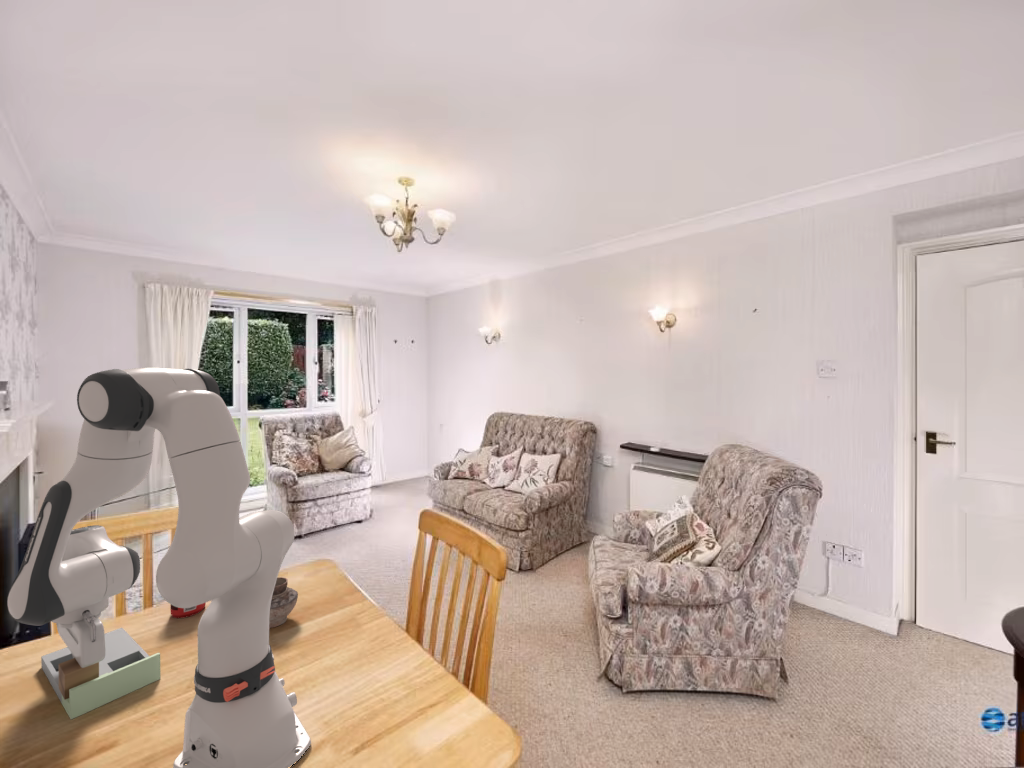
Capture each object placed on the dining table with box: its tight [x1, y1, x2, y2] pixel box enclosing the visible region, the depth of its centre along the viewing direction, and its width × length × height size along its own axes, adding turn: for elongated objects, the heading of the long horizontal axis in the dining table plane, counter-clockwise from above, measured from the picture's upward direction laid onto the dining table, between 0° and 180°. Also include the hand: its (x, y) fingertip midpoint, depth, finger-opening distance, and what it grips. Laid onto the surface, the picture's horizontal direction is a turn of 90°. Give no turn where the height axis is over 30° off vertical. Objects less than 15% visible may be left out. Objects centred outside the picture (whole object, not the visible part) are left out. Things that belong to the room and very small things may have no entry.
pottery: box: [210, 576, 299, 629], centre depth 120 cm, size 11×25×12 cm, turn 74°
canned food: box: [170, 602, 207, 619], centre depth 124 cm, size 8×8×11 cm
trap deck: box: [40, 627, 161, 720], centre depth 98 cm, size 26×14×6 cm, turn 55°
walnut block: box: [59, 658, 99, 700], centre depth 90 cm, size 5×5×5 cm
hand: (81, 669), depth 94 cm, fingers closed
